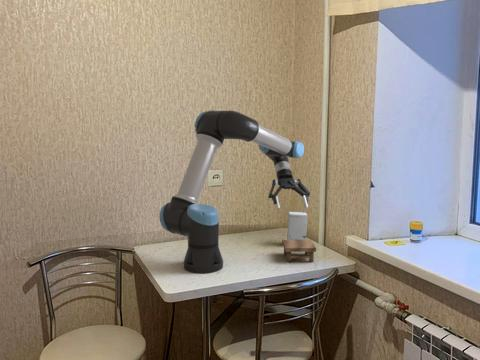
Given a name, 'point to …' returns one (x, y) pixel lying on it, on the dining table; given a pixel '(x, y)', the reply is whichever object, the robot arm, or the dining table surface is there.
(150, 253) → the dining table surface
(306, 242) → the stool
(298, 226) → the skincare box
